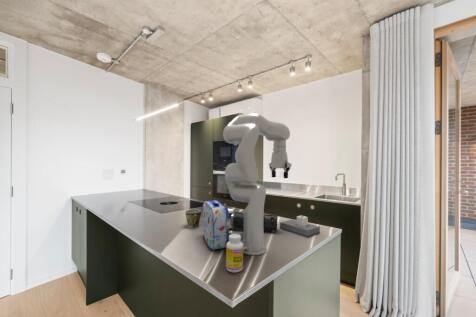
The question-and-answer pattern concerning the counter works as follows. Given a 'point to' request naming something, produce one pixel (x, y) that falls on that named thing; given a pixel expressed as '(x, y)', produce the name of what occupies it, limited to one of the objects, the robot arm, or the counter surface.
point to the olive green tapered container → (193, 218)
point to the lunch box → (215, 224)
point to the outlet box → (300, 228)
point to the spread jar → (230, 218)
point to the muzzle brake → (269, 221)
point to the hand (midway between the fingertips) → (279, 177)
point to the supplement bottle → (234, 253)
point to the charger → (302, 221)
